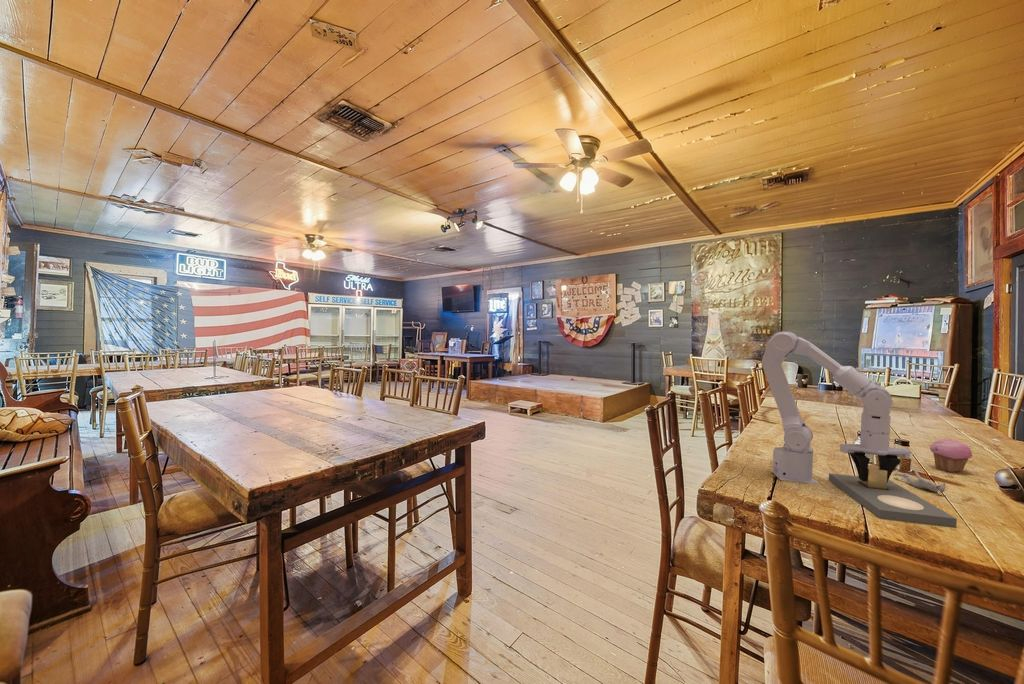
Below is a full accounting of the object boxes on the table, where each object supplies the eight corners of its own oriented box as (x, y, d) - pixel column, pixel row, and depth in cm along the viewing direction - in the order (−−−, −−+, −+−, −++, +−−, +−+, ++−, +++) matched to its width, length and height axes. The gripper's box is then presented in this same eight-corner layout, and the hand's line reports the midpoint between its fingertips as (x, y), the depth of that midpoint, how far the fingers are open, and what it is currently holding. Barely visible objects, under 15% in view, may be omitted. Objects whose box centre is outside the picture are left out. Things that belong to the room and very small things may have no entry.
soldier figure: (913, 484, 115) (961, 487, 104) (905, 497, 114) (954, 501, 103) (891, 465, 116) (936, 466, 105) (883, 477, 115) (929, 479, 104)
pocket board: (879, 520, 91) (879, 508, 91) (828, 481, 114) (829, 472, 114) (956, 529, 87) (956, 517, 87) (887, 487, 110) (888, 478, 110)
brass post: (867, 494, 104) (868, 468, 104) (859, 488, 108) (860, 464, 108) (886, 496, 103) (887, 470, 103) (876, 490, 107) (877, 465, 106)
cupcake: (947, 465, 129) (949, 435, 128) (980, 475, 120) (981, 443, 120) (921, 465, 128) (923, 435, 128) (952, 475, 120) (954, 443, 119)
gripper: (850, 432, 103) (848, 483, 103) (919, 437, 99) (917, 490, 99) (836, 426, 110) (835, 473, 110) (900, 430, 106) (898, 480, 106)
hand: (872, 481), depth 105 cm, fingers closed on brass post, 4 cm apart
